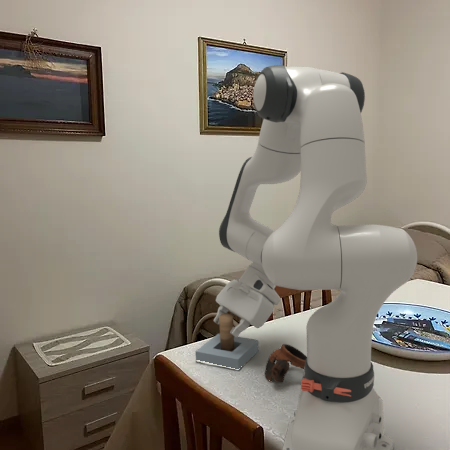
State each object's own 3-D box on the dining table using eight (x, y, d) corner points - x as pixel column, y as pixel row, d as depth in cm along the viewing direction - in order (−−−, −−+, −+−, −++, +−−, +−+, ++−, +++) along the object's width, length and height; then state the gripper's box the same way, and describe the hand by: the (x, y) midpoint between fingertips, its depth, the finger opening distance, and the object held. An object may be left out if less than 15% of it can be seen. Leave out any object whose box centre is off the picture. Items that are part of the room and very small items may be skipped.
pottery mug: (267, 367, 112) (282, 338, 111) (300, 389, 109) (317, 360, 108) (252, 378, 101) (270, 346, 100) (289, 403, 98) (307, 370, 97)
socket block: (238, 371, 110) (238, 359, 109) (196, 362, 115) (195, 351, 115) (258, 350, 120) (258, 340, 120) (218, 343, 126) (218, 333, 125)
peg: (231, 360, 115) (229, 319, 113) (218, 358, 117) (216, 317, 115) (237, 354, 118) (235, 314, 117) (225, 352, 120) (223, 312, 118)
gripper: (229, 270, 127) (199, 310, 124) (268, 287, 109) (234, 335, 106) (243, 282, 129) (214, 322, 127) (285, 302, 111) (252, 349, 109)
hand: (224, 329), depth 116 cm, fingers open, 8 cm apart
